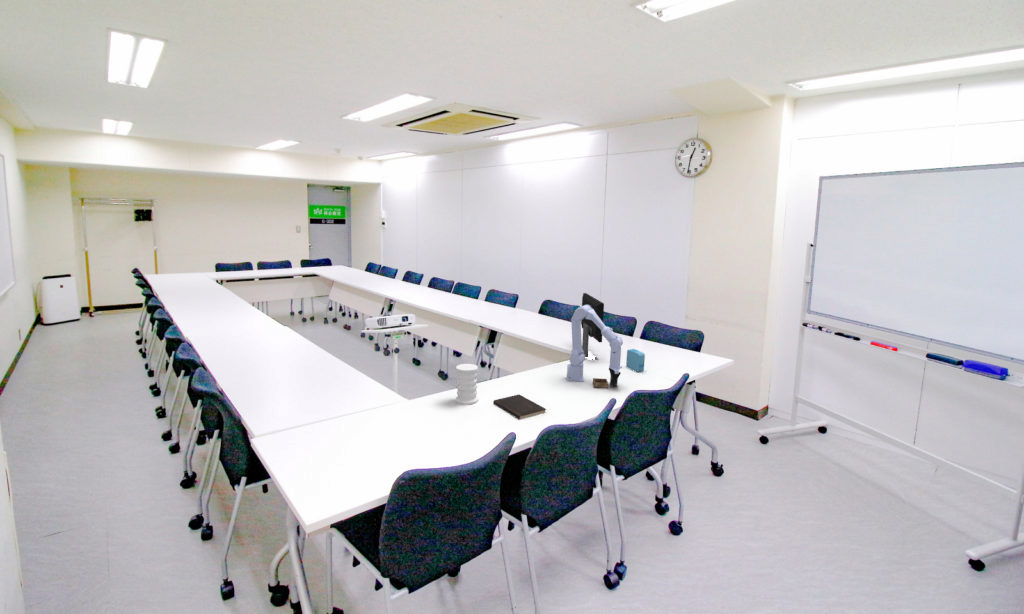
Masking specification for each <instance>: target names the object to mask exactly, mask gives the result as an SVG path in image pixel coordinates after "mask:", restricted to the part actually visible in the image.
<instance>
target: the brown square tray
mask: <svg viewBox="0 0 1024 614" xmlns="http://www.w3.org/2000/svg"><path fill="white" fill-rule="evenodd" d="M592 385H594V386H593V388H594V389H609V382H608V379H607V378H594V377H593V378H592Z"/></svg>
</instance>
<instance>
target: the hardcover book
mask: <svg viewBox="0 0 1024 614" xmlns="http://www.w3.org/2000/svg"><path fill="white" fill-rule="evenodd" d="M492 404H493V405H495V406H497V407H498V408H500V409H502V411H504V412H506V413H510V414H509V415H511V416H512V417H514V416H515V417H514V418H516V419H517V420H522V418H523V419H526V418H529V416H530V417H533V415H534V416H537V415H541V414H544V412H545V413H546V410H547V409H546V408H545V407H543V406H541V405H539V404H537V402H534V401H532V400H530V399H529V398H527V397H525V396H523V395H522V394H514V395H511V396H506V397H502V398H499V399H498V398H497V399H494V400H493V402H492ZM540 413H541V414H540ZM536 414H537V415H536ZM525 417H526V418H525Z"/></svg>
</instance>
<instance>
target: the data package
mask: <svg viewBox="0 0 1024 614" xmlns="http://www.w3.org/2000/svg"><path fill="white" fill-rule="evenodd" d="M645 359H646V355H645V353H644V352H643V351H640V350H638V349H635V348H630V349H627V351H626V365H625V366H626V368H627V367H628V368H627V369H629V368H630V369H629V370H631V369H632V370H631V371H633V370H634V371H633V372H635V371H637V372H636V373H641V372H640V371H642V372H644V371H645Z"/></svg>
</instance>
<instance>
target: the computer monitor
mask: <svg viewBox="0 0 1024 614" xmlns="http://www.w3.org/2000/svg"><path fill="white" fill-rule="evenodd" d="M581 299H582V300H581V307H582V306H584V305H589V306H591V308H592V309H593V310H594V311H595V313H596V314H597V315H598V317H599V318H600V319H601V321H602V322H603V323H604V311H605V310H604V309H605V303H604V302H602V301H600V300H599V299H598V298H595V297H593V295H590V294H589V293H586V292H583V294H582V298H581ZM585 318H586V317H585ZM585 318H584V319H583V320H582V321H581V329H582V340H581V341H582V349H583V351H584V355H585V357H588V351H589V338H593V339H595V340H596V342H598V343H603V335H602V334H601V329H600V328H599V327H598V326H597V325H596V324H595V323H594V322H593V321H592V320H589V319H585ZM592 360H593V359H592ZM595 360H597V361H599V360H600V359H599V358H598V356H596V357H595Z"/></svg>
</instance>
